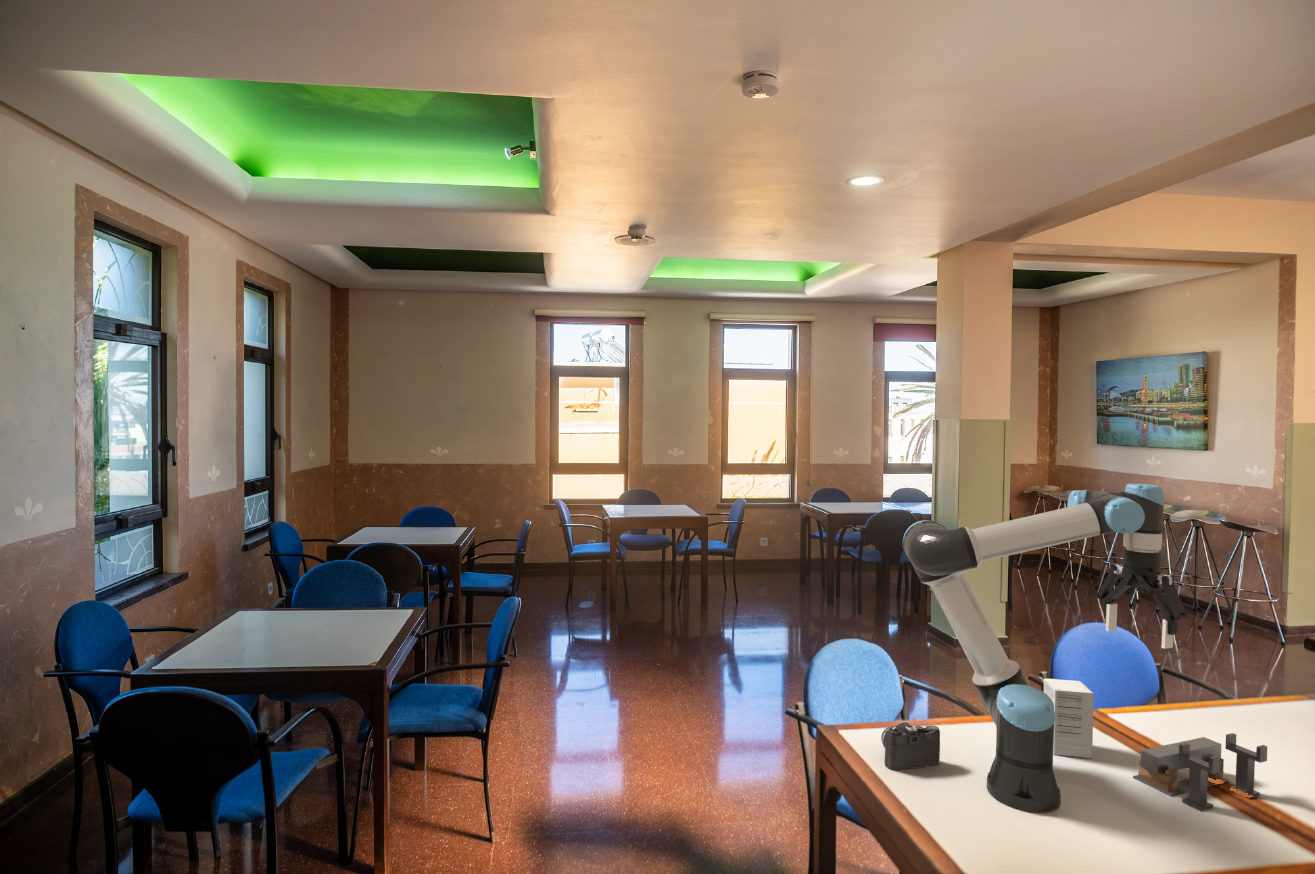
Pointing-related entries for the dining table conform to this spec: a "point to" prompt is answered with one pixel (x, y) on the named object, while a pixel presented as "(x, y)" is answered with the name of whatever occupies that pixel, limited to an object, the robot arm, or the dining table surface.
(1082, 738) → the supplement box
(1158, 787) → the bench rests
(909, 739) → the camera
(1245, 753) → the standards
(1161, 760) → the rail
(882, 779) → the dining table surface
